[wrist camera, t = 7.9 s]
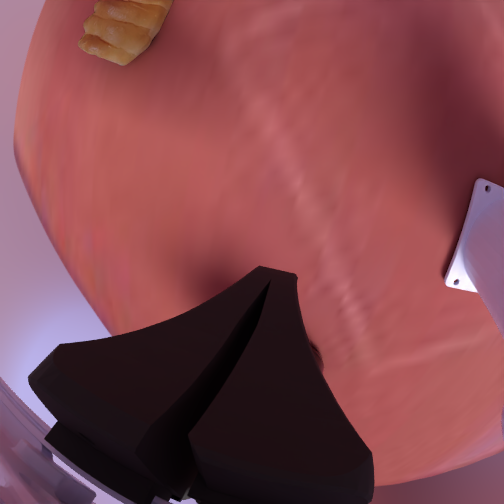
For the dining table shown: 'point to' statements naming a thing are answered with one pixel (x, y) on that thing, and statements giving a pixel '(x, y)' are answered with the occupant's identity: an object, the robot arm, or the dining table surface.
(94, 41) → the pastry
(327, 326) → the dining table surface
